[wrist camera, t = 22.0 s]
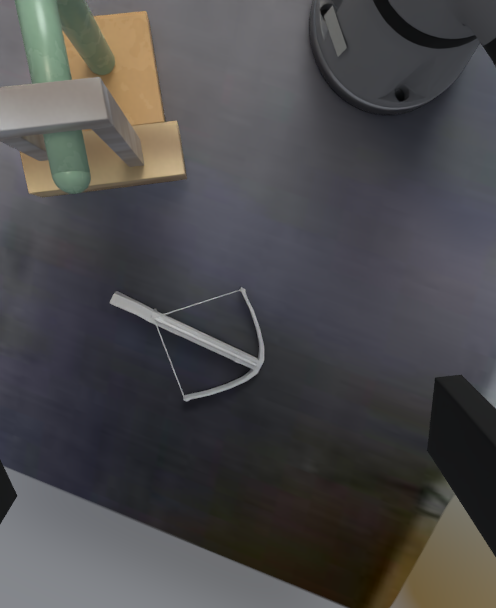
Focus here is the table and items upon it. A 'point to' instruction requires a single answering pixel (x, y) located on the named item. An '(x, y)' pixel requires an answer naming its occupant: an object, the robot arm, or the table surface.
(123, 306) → the crossbow
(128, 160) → the grey arch on wood
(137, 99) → the hanger stand
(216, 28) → the table surface
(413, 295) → the table surface
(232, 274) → the table surface
